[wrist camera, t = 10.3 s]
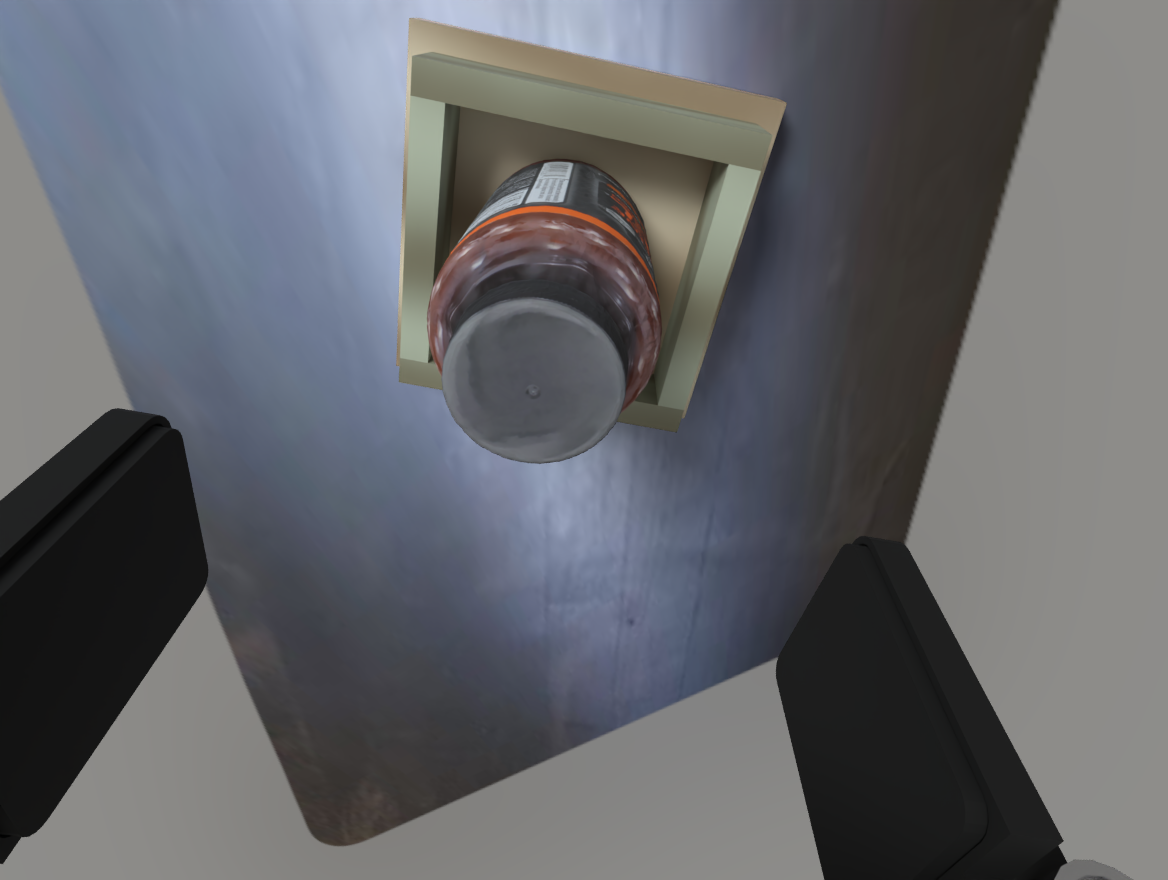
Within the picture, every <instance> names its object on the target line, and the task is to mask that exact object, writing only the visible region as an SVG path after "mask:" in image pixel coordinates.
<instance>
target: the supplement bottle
mask: <svg viewBox="0 0 1168 880" xmlns="http://www.w3.org/2000/svg"><path fill="white" fill-rule="evenodd" d="M427 332H428V340H429V345H430V349H431V353H432V356H433V359H434V362H435V364H436V367H437V369H438V371H439V373H440V375H441V377H442V378H441V381H442V388H443V394H444V397H445V400H446V404H447V406H448V408H449V410H450V412H451V414H452V417H453V418H454V420H455V422H456V423H457V424H458V425H459V426H460V427H461V428H462V429H463V431H464V432H465V433H466V434H467V435H468V436H469V437H470V438H471V439H472V440H473V441H474V442H476V443H477V444H478V445H480V446H481V447H483V448H485V449H487V450H489V451H490V452H492V453H494V454H497V455H499V456H501V457H503V458H507V459H510V460H515V461H519V462H526V463H538V464H541V463H551V462H559V461H563V460H566V459H569V458H572V457H574V456H577V455H579V454H581V453H584V452H586V451H587V450H588V449H590V448H592V447H594V446H595V445H596V444H597V443H598V442H599V441H601V440H602V439H603V438H604V437H605V436H606V435H607V434H608V433H609V431H610V430H611V429H612V428H613V426H614V425H615V423H616V422H617V419H618V417H619V415H620V414H621V413H622V412H623V411H625V410H626V409H627V407H628V406H629V405H630V404H632V403H633V402H634V401H635V399H636V398H637V397H638V396H639V394H640V393H641V392H642V390H643V389H644V388H645V386H646V385H647V383H648V381H649V379H650V377H651V375H652V373H653V370H654V367H655V364H656V361H657V358H658V355H659V352H660V345H661V335H662V320H661V310H660V302H659V292H658V290H657V284H656V281H655V274H654V269H653V265H652V261H651V253H650V250H649V243H648V239H647V234H646V229H645V226H644V221H643V218H642V217H641V214H640V212H639V210H638V208H637V206H636V204H635V203H634V201H633V200H632V198H631V197H630V195H629V194H628V192H627V191H626V190H625V189H624V188H623V187H622V185H621V184H620V183H619V182H617V181H616V180H615V179H614V178H613V177H612V176H611V175H609V174H607V173H606V172H604V171H603V170H601V169H599V168H598V167H596V166H594V165H592V164H588V163H585V162H582V161H578V160H571V159H551V160H543V161H538V162H535V163H532V164H530V165H527V166H525V167H523V168H522V169H520V170H518V171H517V172H515V173H513V174H512V175H511V176H510V177H509V178H507V179H506V180H505V181H504V182H503V183H502V184H501V185H500V186H499V187H498V188H497V189H496V190H495V192H494V193H493V194H492V195H491V197H490V198H489V199H488V201H487V202H486V204H485V205H484V207H483V208H482V209H481V211H480V212H479V214H478V215H477V217H476V218H475V219H474V221H473V222H472V223H471V225H470V226H469V227H468V229H467V231H466V232H465V234H464V235H463V237H462V238H461V239H460V241H459V242H458V244H457V245H456V246H455V247H454V249H453V250H452V252H451V254H450V256H449V257H448V258H447V260H446V261H445V263H444V265H443V267H442V268H441V270H440V272H439V274H438V277H437V279H436V281H435V284H434V286H433V289H432V292H431V296H430V301H429V305H428V311H427Z"/></svg>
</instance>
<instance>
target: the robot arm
mask: <svg viewBox="0 0 1168 880" xmlns="http://www.w3.org/2000/svg"><path fill="white" fill-rule="evenodd" d="M207 577H208V564H207V559H206V554H205V549H204V543H203V538H202V533H201V528H200V523H199V518H198V513H197V508H196V503H195V498H194V493H193V488H192V483H191V478H190V473H189V468H188V463H187V458H186V453H185V448H184V443H183V438H182V435H181V433H180V432H179V431H178V430H176V429H172V428H171V426H170V423H169V421H168V420H167V419H166V418H165V417H163V416H160V415H155V414H149V413H143V412H137V411H131V410H125V409H119V408H117V409H112V410H110V411H108V412H107V413H105V414H104V415H103V416H101V417H100V418H99V419H98V420H96V421H95V422H94V423H93V424H92V425H90V426H89V427H88V428H87V429H86V430H84V431H83V432H82V433H81V434H80V435H79V436H77V437H76V438H75V439H74V440H72V441H71V442H70V443H69V444H68V445H66V446H65V447H64V448H63V449H62V450H60V452H58V453H57V454H56V455H55V456H53V457H52V458H51V459H50V460H49V461H47V462H46V463H45V464H44V465H43V466H41V467H40V468H39V469H38V470H37V471H35V472H34V473H33V474H32V475H31V476H29V477H28V478H27V479H26V480H25V481H23V482H22V483H21V484H20V485H19V486H17V487H16V488H15V489H14V490H13V491H11V492H10V493H9V494H8V495H7V496H5V498H3V499H2V500H1V501H0V864H3V863H4V862H5V860H6V859H7V857H8V856H9V854H10V853H11V851H12V850H13V848H14V847H15V846H16V844H17V843H18V841H19V840H20V838H21V837H28V836H30V835H32V834H34V833H36V832H37V831H38V830H39V829H40V828H41V827H42V826H43V825H44V823H45V822H46V821H47V819H48V818H49V817H50V815H51V814H52V812H53V811H54V809H55V808H56V807H57V805H58V804H59V802H60V801H61V799H62V798H63V796H64V795H65V793H66V792H67V790H68V789H69V787H70V786H71V784H72V783H73V782H74V780H75V778H76V777H77V776H78V774H79V773H80V771H81V770H82V768H83V767H84V765H85V764H86V762H87V761H88V759H89V758H90V756H91V755H92V753H93V752H94V750H95V749H96V748H97V746H98V745H99V743H100V742H101V740H102V739H103V737H104V736H105V734H106V733H107V731H108V730H109V729H110V727H111V725H112V724H113V723H114V721H115V720H116V718H117V717H118V715H119V714H120V712H121V711H122V709H123V708H124V706H125V705H126V704H127V702H128V701H129V699H130V698H131V696H132V695H133V693H134V692H135V690H136V689H137V687H138V686H139V684H140V683H141V681H142V680H143V679H144V677H145V676H146V674H147V673H148V671H149V670H150V668H151V667H152V665H153V664H154V662H155V661H156V659H157V658H158V656H159V655H160V654H161V652H162V651H163V649H164V647H165V646H166V645H167V643H168V642H169V640H170V639H171V637H172V636H173V634H174V633H175V631H176V630H177V628H178V627H179V626H180V624H181V623H182V621H183V620H184V618H185V617H186V615H187V614H188V612H189V611H190V609H191V608H192V606H193V605H194V604H195V602H196V600H197V599H198V598H199V596H200V595H201V593H202V591H203V589H204V587H205V584H206V581H207ZM776 679H777V684H778V688H779V692H780V696H781V701H782V705H783V709H784V713H785V717H786V721H787V726H788V730H789V734H790V738H791V742H792V746H793V751H794V755H795V759H796V763H797V767H798V771H799V776H800V780H801V784H802V788H803V792H804V796H805V801H806V805H807V809H808V813H809V817H810V821H811V826H812V830H813V834H814V838H815V842H816V847H817V850H818V855H819V859H820V863H821V867H822V872H823V876H824V880H1133V879H1131V878H1130V877H1128V876H1126V875H1125V874H1123V873H1121V872H1120V871H1118V870H1116V869H1115V868H1113V867H1110V866H1107V865H1104V864H1101V863H1098V862H1096V861H1093V860H1073V861H1071V862H1069V863H1067V861H1066V860H1065V857H1064V856H1063V854H1062V852H1061V850H1060V848H1059V846H1058V845H1059V844H1061V843H1062V842H1063V839H1062V837H1061V835H1060V833H1059V832H1058V830H1057V828H1056V826H1055V824H1054V822H1053V820H1052V818H1051V816H1050V814H1049V813H1048V811H1047V809H1046V807H1045V805H1044V803H1043V801H1042V800H1041V798H1040V796H1039V794H1038V792H1037V790H1036V788H1035V786H1034V784H1033V783H1032V781H1031V779H1030V777H1029V775H1028V773H1027V771H1026V769H1025V767H1024V766H1023V764H1022V762H1021V760H1020V758H1019V756H1018V754H1017V752H1016V751H1015V749H1014V747H1013V745H1012V743H1011V741H1010V739H1009V737H1008V735H1007V734H1006V732H1005V730H1004V728H1003V726H1002V724H1001V722H1000V721H999V719H998V717H997V715H996V713H995V711H994V709H993V707H992V705H991V704H990V702H989V700H988V698H987V696H986V694H985V692H984V691H983V688H982V687H981V685H980V683H979V681H978V679H977V677H976V675H975V673H974V672H973V670H972V668H971V666H970V664H969V662H968V660H967V658H966V657H965V655H964V653H963V651H962V649H961V647H960V645H959V643H958V641H957V640H956V638H955V636H954V634H953V632H952V630H951V628H950V626H949V625H948V623H947V621H946V619H945V618H944V615H943V613H942V612H941V610H940V608H939V606H938V604H937V602H936V600H935V598H934V596H933V594H932V593H931V591H930V589H929V587H928V585H927V583H926V581H925V579H924V578H923V576H922V574H921V572H920V570H919V568H918V566H917V564H916V562H915V561H914V559H913V557H912V555H911V553H910V551H909V550H908V548H907V547H906V546H905V545H904V544H902V543H901V542H896V541H890V540H884V539H879V538H873V537H867V536H860V537H859V538H857V539H856V540H855V541H854V542H853V544H845V545H844V546H843V547H842V548H841V549H840V551H839V553H838V554H837V556H836V558H835V560H834V561H833V563H832V565H831V566H830V568H829V570H828V572H827V573H826V575H825V577H824V579H823V580H822V582H821V584H820V585H819V587H818V589H817V591H816V592H815V594H814V596H813V598H812V599H811V601H810V603H809V604H808V606H807V608H806V610H805V611H804V613H803V615H802V617H801V618H800V620H799V622H798V624H797V625H796V627H795V629H794V630H793V632H792V634H791V636H790V637H789V639H788V641H787V643H786V644H785V646H784V648H783V649H782V651H781V653H780V655H779V657H778V660H777V665H776Z"/></svg>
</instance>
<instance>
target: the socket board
mask: <svg viewBox="0 0 1168 880" xmlns="http://www.w3.org/2000/svg"><path fill="white" fill-rule="evenodd" d="M786 104H787V103H786V102H784V101H782V100H780V99H777V98H772V97H768V96H763V95H759V94H754V93H750V92H746V91H741V90H737V89H732V88H728V87H723V86H719V85H714V84H710V83H706V82H701V81H697V80H692V79H688V78H683V77H679V76H674V75H670V74H666V73H661V72H657V71H652V70H648V69H643V68H639V67H634V66H630V65H626V64H621V63H617V62H612V61H608V60H603V59H599V58H594V57H590V56H586V55H581V54H577V53H572V52H568V51H563V50H559V49H554V48H550V47H546V46H541V45H537V44H532V43H528V42H523V41H519V40H514V39H510V38H506V37H501V36H497V35H492V34H488V33H483V32H479V31H474V30H470V29H466V28H461V27H457V26H452V25H448V24H443V23H439V22H434V21H430V20H426V19H421V18H409V37H408V64H407V91H406V118H405V145H404V172H403V199H402V226H401V253H400V280H399V307H398V334H397V361H396V366H400V368H399V382H401V383H407V384H412V385H418V386H423V387H429V388H434V389H440V390H443V388H442V381H441V378H442V377H441V375H440V373H439V371H438V369H437V367H436V364H435V362H434V359H433V356H432V353H431V349H430V345H429V340H428V332H427V311H428V305H429V301H430V296H431V292H432V289H433V286H434V284H435V281H436V279H437V277H438V274H439V272H440V270H441V268H442V267H443V265H444V263H445V261H446V260H447V258H448V257H449V256H450V254H451V252H452V250H453V249H454V247H455V246H456V245H457V244H458V242H459V241H460V239H461V238H462V237H463V235H464V234H465V232H466V231H467V229H468V227H469V226H470V225H471V223H472V222H473V221H474V219H475V218H476V217H477V215H478V214H479V212H480V211H481V209H482V208H483V207H484V205H485V204H486V202H487V201H488V199H489V198H490V197H491V195H492V194H493V193H494V192H495V190H496V189H497V188H498V187H499V186H500V185H501V184H502V183H503V182H504V181H505V180H506V179H507V178H509V177H510V176H511V175H512V174H513V173H515V172H517V171H518V170H520V169H522V168H523V167H525V166H527V165H530V164H532V163H535V162H538V161H543V160H551V159H571V160H578V161H582V162H585V163H588V164H592V165H594V166H596V167H598V168H599V169H601V170H603V171H604V172H606V173H607V174H609V175H611V176H612V177H613V178H614V179H615V180H616V181H617V182H619V183H620V184H621V185H622V187H623V188H624V189H625V190H626V191H627V192H628V194H629V195H630V197H631V198H632V200H633V201H634V203H635V204H636V206H637V208H638V210H639V212H640V214H641V217H642V218H643V221H644V226H645V229H646V234H647V239H648V243H649V250H650V253H651V261H652V265H653V269H654V274H655V281H656V284H657V290H658V292H659V302H660V310H661V320H662V335H661V345H660V352H659V355H658V358H657V361H656V364H655V367H654V370H653V373H652V375H651V377H650V379H649V381H648V383H647V385H646V386H645V388H644V389H643V390H642V392H641V393H640V394H639V396H638V397H637V398H636V399H635V401H634V402H633V403H632V404H630V405H629V406H628V407H627V409H626V410H625V411H623V412H622V413H621V414H620V415H619V417H618V419H617V422H622V423H627V424H633V425H638V426H644V427H649V428H655V429H660V430H666V431H671V432H677V431H678V428H679V424H680V421H681V418H685V415H686V412H687V408H688V405H689V402H690V399H691V396H692V393H693V390H694V387H695V384H696V381H697V378H698V375H699V372H700V368H701V365H702V362H703V359H704V356H705V353H706V350H707V347H708V344H709V341H710V338H711V335H712V332H713V329H714V325H715V322H716V319H717V316H718V313H719V310H720V307H721V304H722V301H723V298H724V295H725V292H726V289H727V285H728V282H729V279H730V276H731V273H732V270H733V267H734V264H735V261H736V258H737V255H738V252H739V249H740V245H741V242H742V239H743V236H744V233H745V230H746V227H747V224H748V221H749V218H750V215H751V212H752V209H753V205H754V202H755V199H756V196H757V193H758V190H759V187H760V184H761V181H762V178H763V175H764V172H765V169H766V165H767V162H768V159H769V156H770V153H771V150H772V147H773V144H774V141H775V138H776V135H777V132H778V129H779V126H780V122H781V119H782V116H783V113H784V110H785V107H786Z"/></svg>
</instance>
